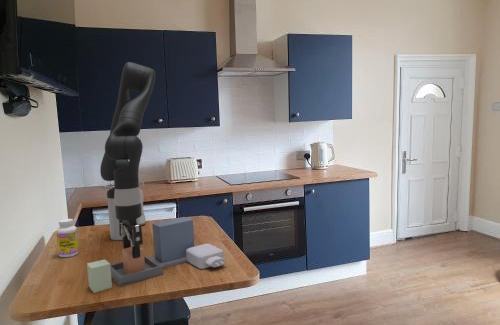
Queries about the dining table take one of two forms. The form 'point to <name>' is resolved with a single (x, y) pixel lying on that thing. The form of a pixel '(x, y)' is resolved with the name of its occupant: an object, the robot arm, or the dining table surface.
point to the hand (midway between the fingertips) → (131, 254)
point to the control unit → (172, 241)
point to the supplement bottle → (67, 238)
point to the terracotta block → (133, 261)
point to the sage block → (99, 275)
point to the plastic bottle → (142, 219)
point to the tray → (123, 278)
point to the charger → (205, 256)
